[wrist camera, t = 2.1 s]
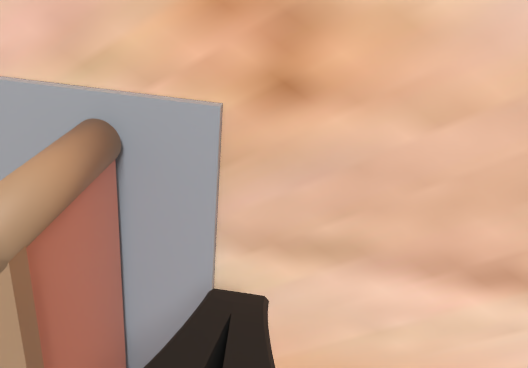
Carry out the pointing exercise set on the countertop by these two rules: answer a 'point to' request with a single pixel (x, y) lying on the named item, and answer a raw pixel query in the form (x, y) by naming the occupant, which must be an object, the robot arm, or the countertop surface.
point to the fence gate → (63, 255)
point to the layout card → (138, 192)
